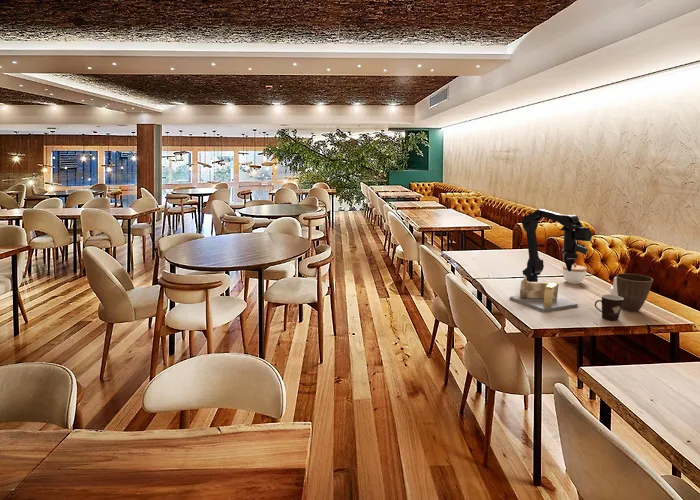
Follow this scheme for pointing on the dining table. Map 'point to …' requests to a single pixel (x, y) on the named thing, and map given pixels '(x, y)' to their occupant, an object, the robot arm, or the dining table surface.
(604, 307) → the coffee mug
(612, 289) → the cream cylindrical piece
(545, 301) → the brass keeper
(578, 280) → the lidded bowl
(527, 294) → the ash link
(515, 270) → the dining table surface
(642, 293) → the plant pot
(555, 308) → the slate board
